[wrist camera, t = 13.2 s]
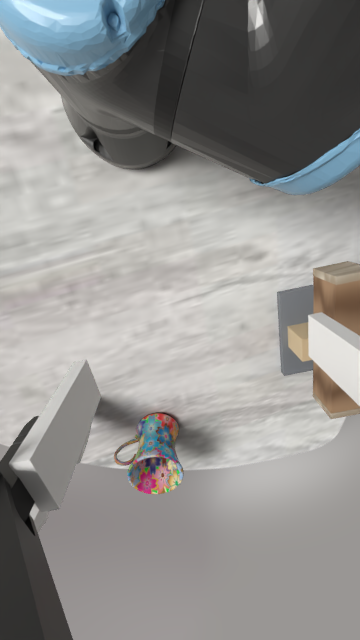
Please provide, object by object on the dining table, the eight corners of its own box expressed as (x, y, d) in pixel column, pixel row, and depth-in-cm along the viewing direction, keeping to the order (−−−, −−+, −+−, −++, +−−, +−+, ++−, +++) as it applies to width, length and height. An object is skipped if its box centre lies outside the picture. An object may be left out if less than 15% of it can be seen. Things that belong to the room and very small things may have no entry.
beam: (313, 268, 34) (336, 276, 29) (347, 261, 34) (376, 268, 29) (312, 396, 43) (331, 419, 38) (340, 391, 42) (361, 413, 38)
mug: (185, 412, 51) (189, 459, 41) (175, 446, 54) (176, 497, 44) (125, 403, 49) (114, 450, 39) (118, 438, 52) (107, 489, 43)
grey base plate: (277, 292, 42) (294, 304, 36) (337, 279, 41) (364, 289, 36) (281, 371, 48) (296, 393, 42) (334, 361, 47) (357, 381, 42)
